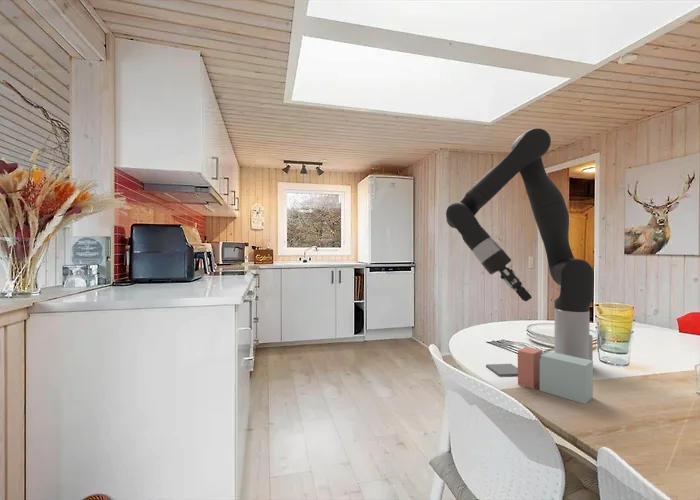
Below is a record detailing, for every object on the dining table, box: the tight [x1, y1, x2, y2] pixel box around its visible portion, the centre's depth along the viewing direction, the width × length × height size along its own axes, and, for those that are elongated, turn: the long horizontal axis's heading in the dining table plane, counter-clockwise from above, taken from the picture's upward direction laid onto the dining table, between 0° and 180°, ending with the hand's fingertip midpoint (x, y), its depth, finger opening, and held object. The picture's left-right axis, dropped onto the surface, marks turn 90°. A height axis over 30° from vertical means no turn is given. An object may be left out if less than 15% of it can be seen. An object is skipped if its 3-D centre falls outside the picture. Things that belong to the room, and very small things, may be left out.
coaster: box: [485, 363, 518, 377], centre depth 100 cm, size 8×8×1 cm
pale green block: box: [535, 350, 594, 405], centre depth 85 cm, size 11×6×9 cm, turn 40°
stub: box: [517, 346, 543, 390], centre depth 91 cm, size 4×6×9 cm
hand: (527, 299), depth 99 cm, fingers open, 8 cm apart
